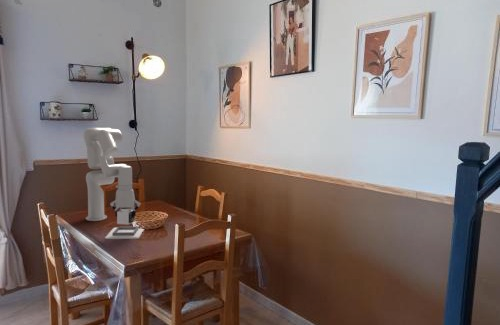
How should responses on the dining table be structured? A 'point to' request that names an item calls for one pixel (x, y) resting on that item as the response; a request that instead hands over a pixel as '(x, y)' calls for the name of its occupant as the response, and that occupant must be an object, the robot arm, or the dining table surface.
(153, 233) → the dining table surface
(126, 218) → the medicine bottle
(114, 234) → the holder board
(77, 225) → the dining table surface
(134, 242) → the dining table surface
